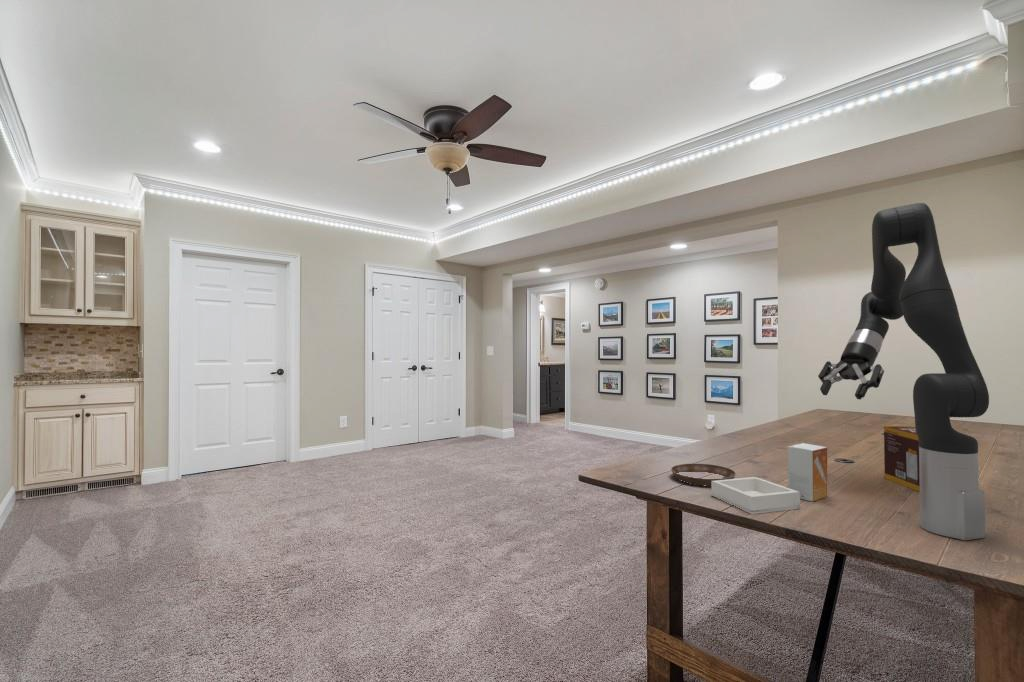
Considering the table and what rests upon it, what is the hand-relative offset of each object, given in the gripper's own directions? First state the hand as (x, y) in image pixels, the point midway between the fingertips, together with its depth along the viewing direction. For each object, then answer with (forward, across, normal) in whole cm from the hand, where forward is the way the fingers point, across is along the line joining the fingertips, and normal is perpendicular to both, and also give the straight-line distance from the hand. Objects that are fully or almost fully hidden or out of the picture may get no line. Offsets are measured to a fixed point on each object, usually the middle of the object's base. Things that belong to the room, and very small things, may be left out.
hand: (840, 395), depth 128 cm
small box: (+28, -1, +8) cm, 29 cm away
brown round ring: (+36, -25, 0) cm, 43 cm away
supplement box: (+3, +8, +36) cm, 38 cm away
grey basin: (+38, -5, -5) cm, 39 cm away
